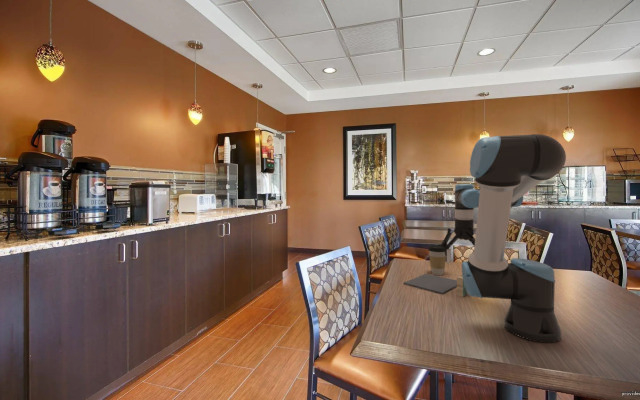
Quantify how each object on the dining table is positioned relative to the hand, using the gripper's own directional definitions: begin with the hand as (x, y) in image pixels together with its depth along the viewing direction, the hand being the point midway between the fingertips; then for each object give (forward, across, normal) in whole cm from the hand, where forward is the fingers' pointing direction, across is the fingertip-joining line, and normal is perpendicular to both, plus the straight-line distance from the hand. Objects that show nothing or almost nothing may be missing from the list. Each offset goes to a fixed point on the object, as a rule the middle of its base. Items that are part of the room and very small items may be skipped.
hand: (463, 265), depth 134 cm
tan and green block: (+13, 0, 0) cm, 13 cm away
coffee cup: (+13, +23, -21) cm, 33 cm away
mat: (+13, +16, -3) cm, 20 cm away
